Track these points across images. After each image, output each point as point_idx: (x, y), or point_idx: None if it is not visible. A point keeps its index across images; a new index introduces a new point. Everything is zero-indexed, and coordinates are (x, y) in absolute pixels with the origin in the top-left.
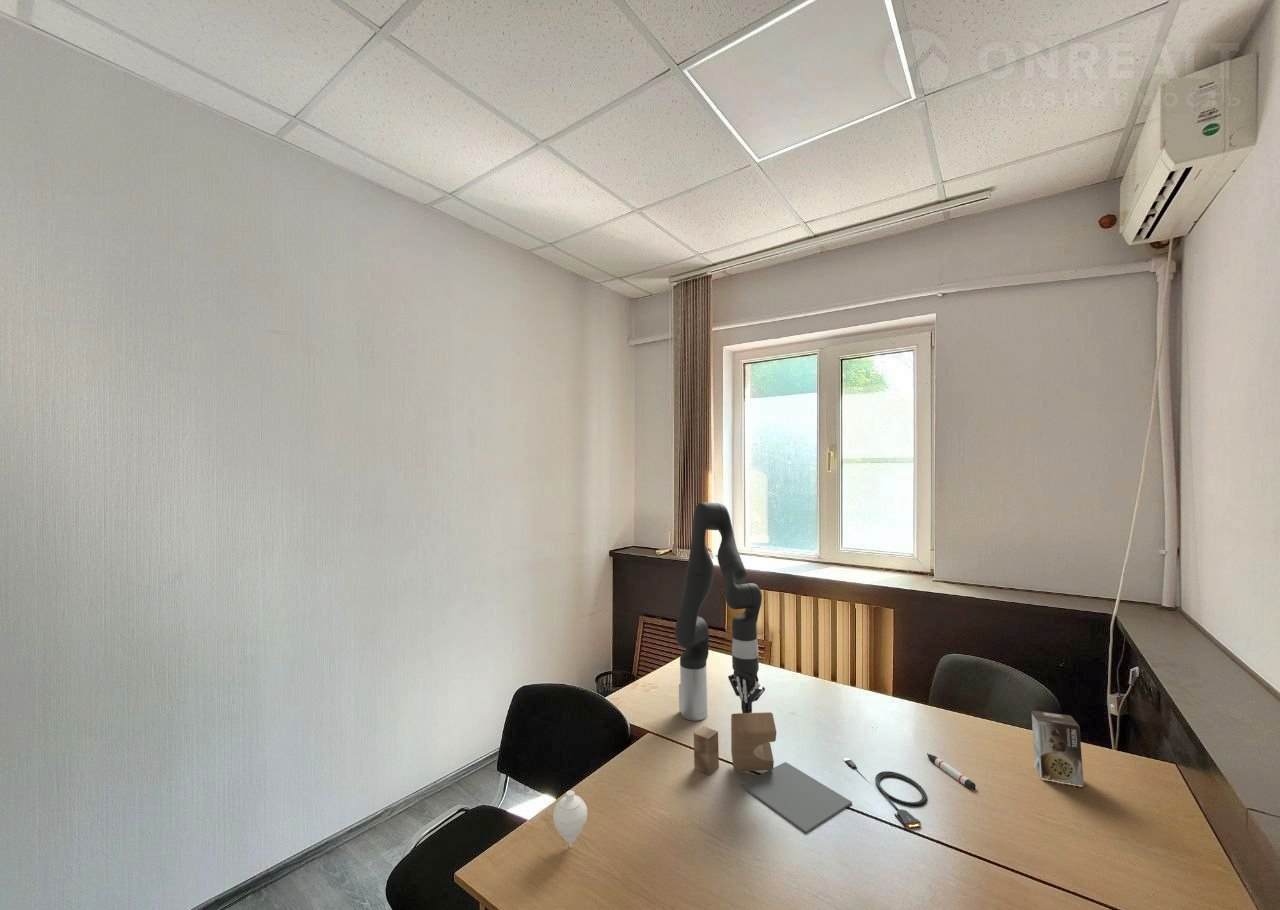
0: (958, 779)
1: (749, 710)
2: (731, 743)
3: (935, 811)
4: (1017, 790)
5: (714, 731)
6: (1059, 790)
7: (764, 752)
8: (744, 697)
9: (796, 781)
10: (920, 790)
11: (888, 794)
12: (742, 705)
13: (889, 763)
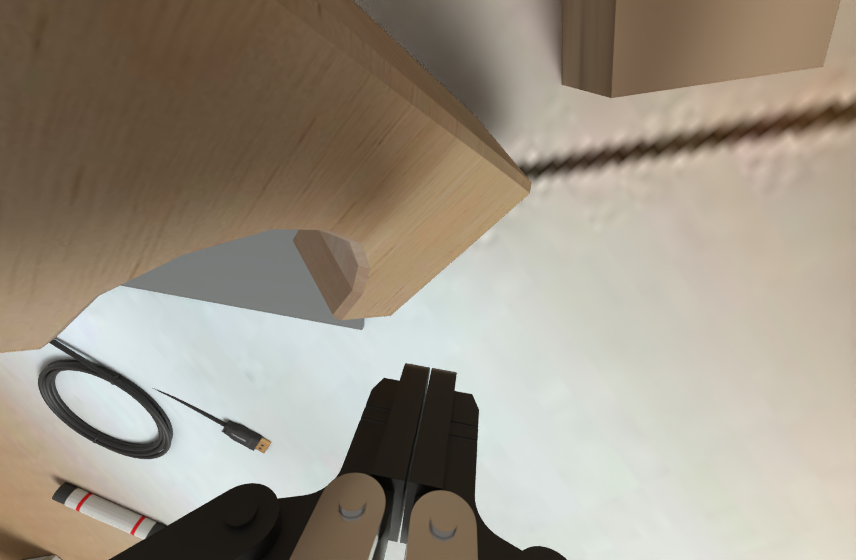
0: (88, 498)
1: (366, 413)
2: (484, 140)
3: (20, 381)
4: (41, 516)
5: (646, 69)
6: (25, 542)
7: (323, 246)
8: (363, 549)
9: (252, 251)
10: (83, 428)
11: (86, 371)
12: (443, 436)
13: (203, 484)
